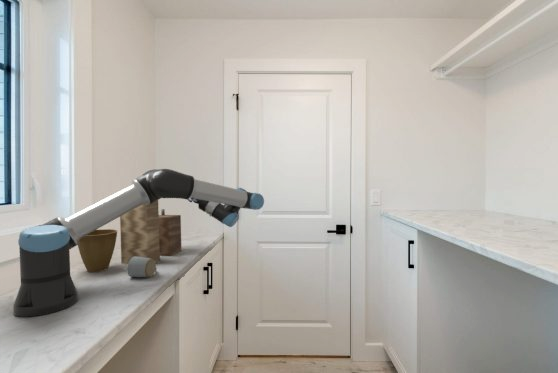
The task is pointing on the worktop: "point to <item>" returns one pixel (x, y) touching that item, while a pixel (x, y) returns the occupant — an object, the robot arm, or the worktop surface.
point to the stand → (140, 233)
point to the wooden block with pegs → (169, 234)
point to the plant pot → (97, 249)
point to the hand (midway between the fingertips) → (171, 182)
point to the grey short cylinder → (141, 267)
